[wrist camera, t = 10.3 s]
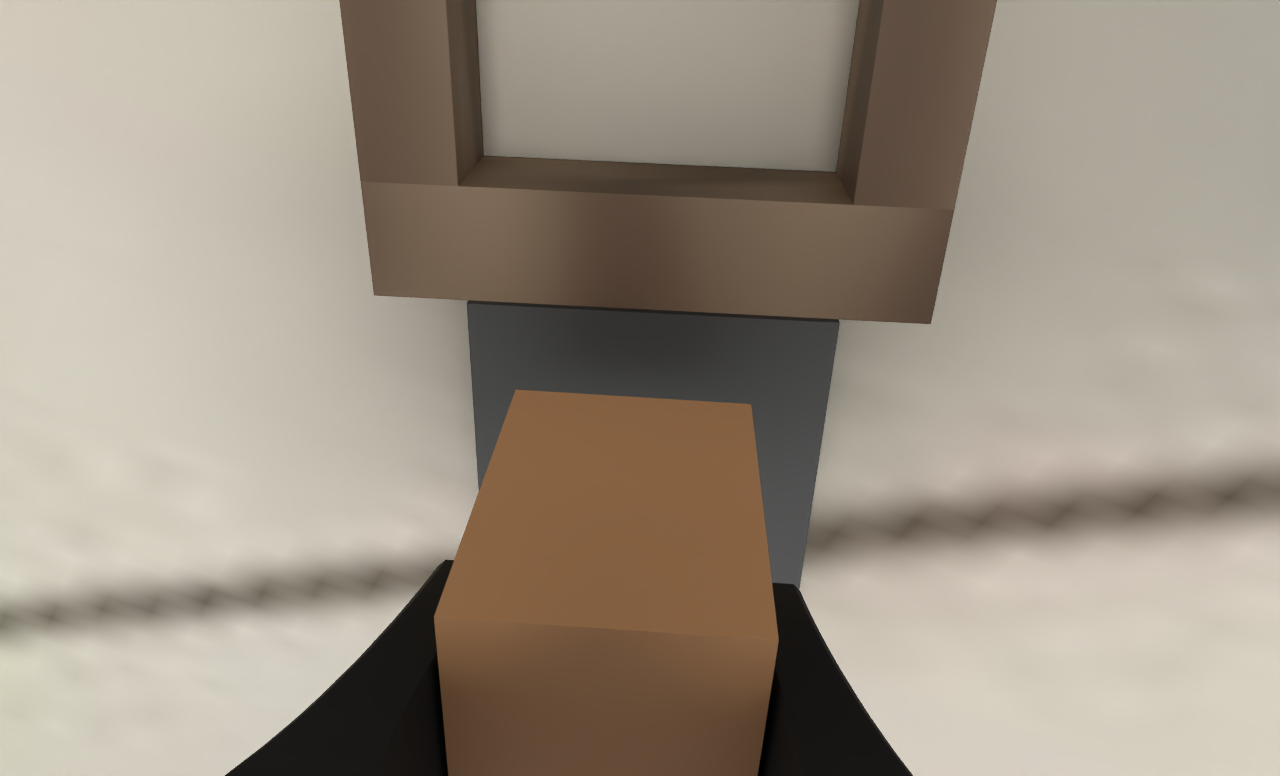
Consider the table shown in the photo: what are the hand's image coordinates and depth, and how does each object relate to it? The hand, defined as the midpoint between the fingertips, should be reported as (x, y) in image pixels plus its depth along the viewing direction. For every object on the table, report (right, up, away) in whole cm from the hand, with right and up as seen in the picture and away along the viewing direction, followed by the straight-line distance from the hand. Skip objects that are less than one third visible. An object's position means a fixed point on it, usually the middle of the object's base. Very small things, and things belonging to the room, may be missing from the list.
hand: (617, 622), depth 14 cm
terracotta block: (0, +2, +2) cm, 3 cm away
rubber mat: (+1, +2, +10) cm, 11 cm away
